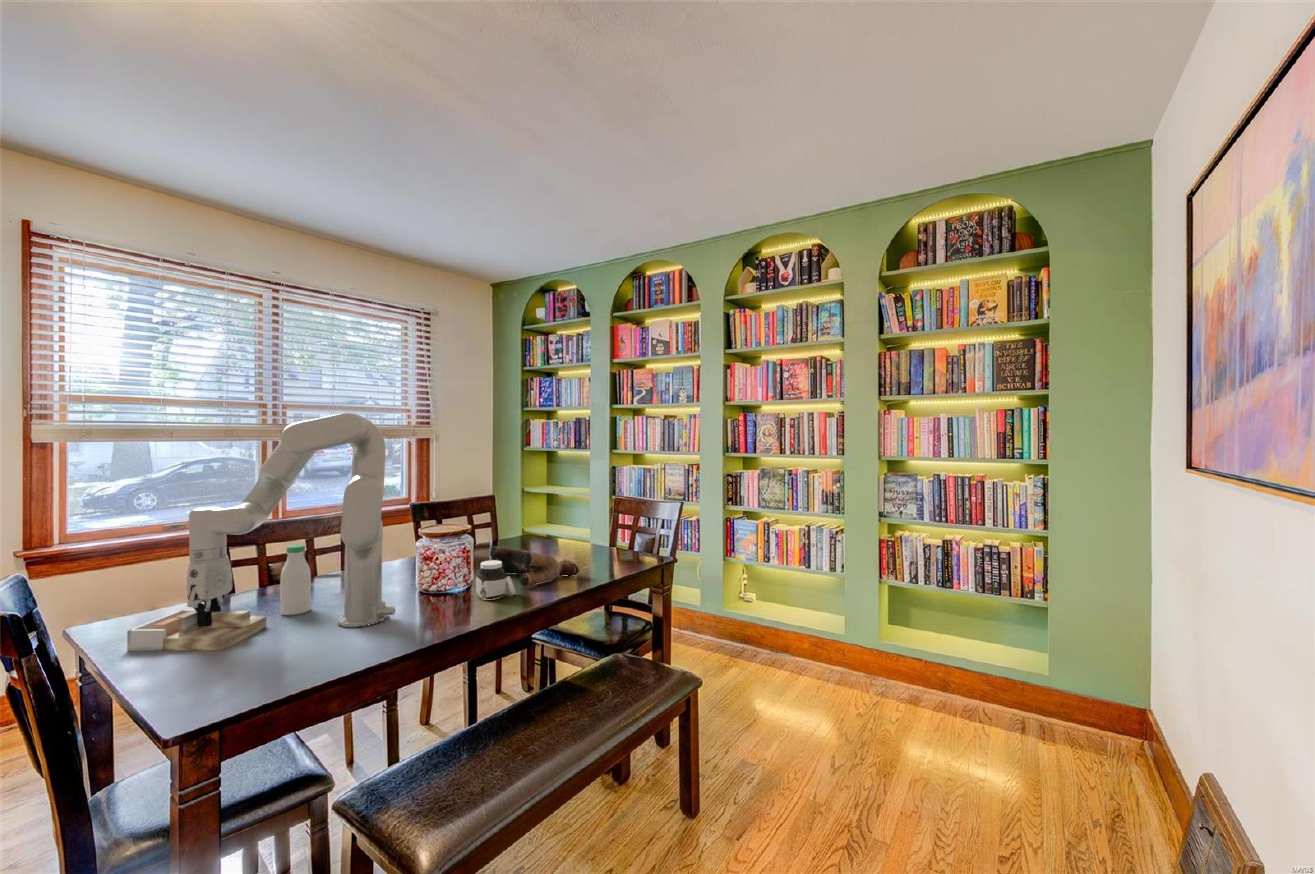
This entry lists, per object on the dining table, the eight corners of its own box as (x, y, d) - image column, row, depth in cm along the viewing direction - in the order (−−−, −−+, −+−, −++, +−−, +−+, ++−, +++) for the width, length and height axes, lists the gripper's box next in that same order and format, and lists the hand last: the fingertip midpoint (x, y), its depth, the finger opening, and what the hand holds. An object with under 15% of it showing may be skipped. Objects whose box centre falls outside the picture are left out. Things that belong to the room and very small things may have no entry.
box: (213, 627, 149) (213, 609, 149) (162, 650, 133) (163, 630, 133) (181, 627, 149) (181, 609, 149) (127, 650, 133) (127, 630, 133)
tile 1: (181, 617, 141) (171, 617, 141) (164, 624, 136) (154, 624, 136) (181, 636, 141) (171, 637, 141) (164, 644, 136) (154, 644, 136)
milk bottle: (316, 609, 165) (316, 544, 165) (290, 617, 158) (290, 549, 158) (300, 606, 168) (300, 542, 168) (274, 613, 161) (274, 547, 161)
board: (266, 626, 150) (266, 616, 150) (222, 649, 134) (222, 637, 134) (214, 627, 149) (214, 616, 149) (164, 650, 133) (164, 638, 133)
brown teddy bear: (534, 549, 186) (587, 547, 205) (483, 545, 206) (535, 543, 225) (532, 587, 184) (585, 582, 204) (480, 579, 204) (534, 575, 223)
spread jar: (472, 597, 179) (472, 562, 179) (502, 589, 188) (502, 556, 188) (492, 604, 171) (492, 568, 171) (522, 596, 180) (522, 562, 180)
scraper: (262, 617, 148) (262, 601, 148) (230, 633, 136) (229, 615, 136) (215, 619, 147) (214, 602, 147) (178, 635, 135) (178, 617, 135)
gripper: (198, 561, 134) (199, 635, 134) (245, 547, 150) (246, 613, 150) (167, 561, 133) (168, 635, 133) (217, 547, 149) (218, 613, 149)
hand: (209, 623), depth 142 cm, fingers closed on scraper, 2 cm apart
